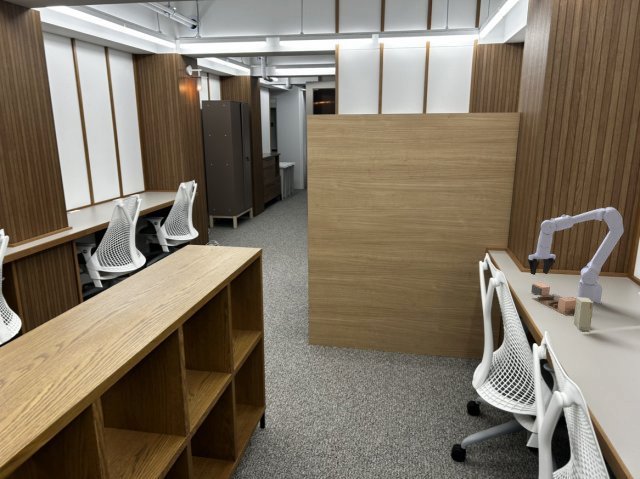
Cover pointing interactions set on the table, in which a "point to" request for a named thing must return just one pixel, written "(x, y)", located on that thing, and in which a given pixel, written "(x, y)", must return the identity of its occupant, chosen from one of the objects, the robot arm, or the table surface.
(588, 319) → the skincare box
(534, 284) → the peach rectangular block
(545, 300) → the walnut rack
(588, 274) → the robot arm
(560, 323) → the table surface
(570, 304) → the pink block
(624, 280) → the table surface
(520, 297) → the table surface
